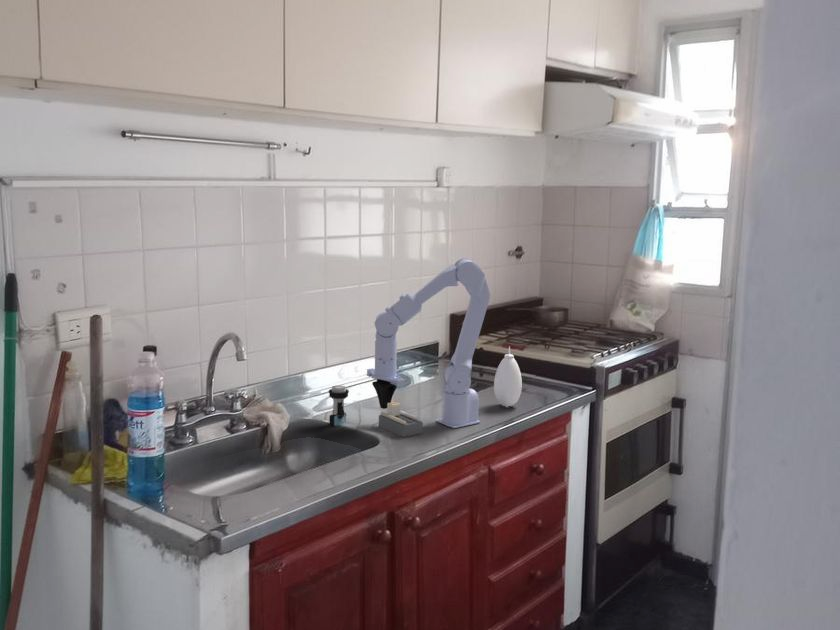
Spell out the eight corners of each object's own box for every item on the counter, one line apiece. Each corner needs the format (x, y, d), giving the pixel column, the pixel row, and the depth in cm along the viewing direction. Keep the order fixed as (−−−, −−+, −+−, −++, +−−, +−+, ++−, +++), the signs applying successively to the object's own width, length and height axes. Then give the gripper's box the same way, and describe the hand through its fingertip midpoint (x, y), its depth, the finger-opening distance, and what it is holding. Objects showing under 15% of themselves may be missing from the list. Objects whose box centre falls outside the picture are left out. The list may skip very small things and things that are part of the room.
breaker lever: (394, 412, 216) (394, 401, 215) (400, 414, 214) (400, 403, 214) (387, 414, 214) (387, 402, 214) (392, 416, 213) (392, 404, 212)
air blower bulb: (525, 408, 235) (528, 347, 232) (504, 411, 231) (506, 349, 228) (509, 401, 242) (512, 342, 239) (488, 404, 238) (490, 344, 235)
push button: (339, 418, 221) (339, 382, 219) (355, 421, 218) (355, 385, 217) (324, 424, 215) (324, 387, 214) (340, 427, 213) (341, 390, 211)
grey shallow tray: (397, 422, 218) (397, 408, 218) (422, 433, 210) (422, 418, 209) (378, 426, 215) (378, 411, 214) (403, 437, 206) (404, 422, 206)
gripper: (357, 354, 218) (357, 403, 220) (389, 365, 207) (388, 416, 209) (379, 351, 222) (378, 399, 225) (411, 361, 211) (410, 412, 213)
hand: (384, 407), depth 217 cm, fingers closed
